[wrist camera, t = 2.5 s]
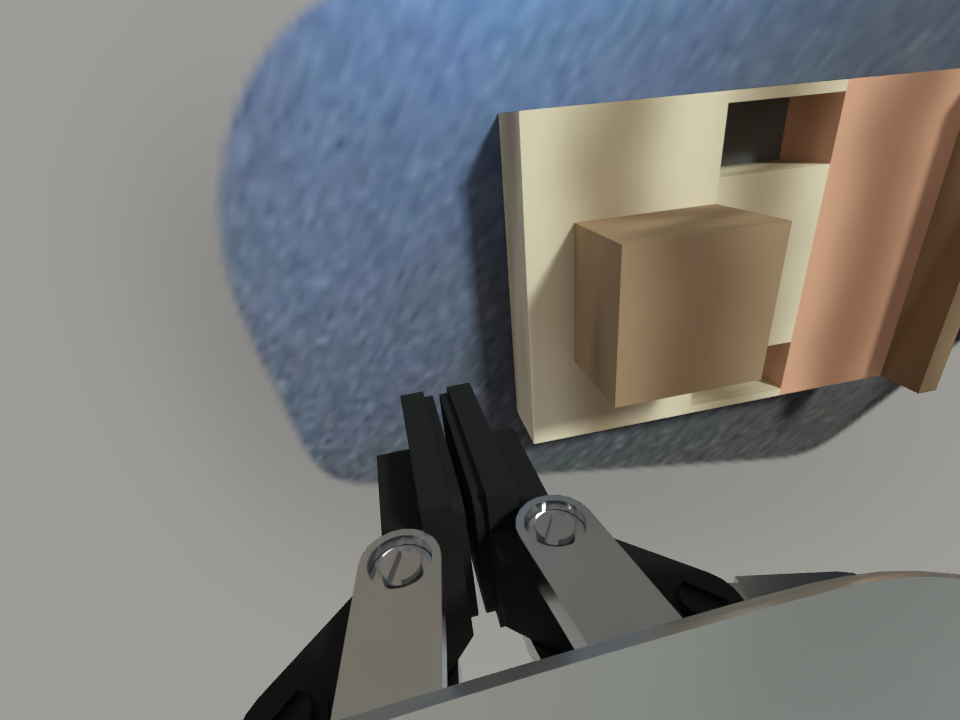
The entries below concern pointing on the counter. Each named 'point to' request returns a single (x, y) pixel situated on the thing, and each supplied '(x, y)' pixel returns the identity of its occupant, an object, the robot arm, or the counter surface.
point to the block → (675, 299)
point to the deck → (756, 188)
